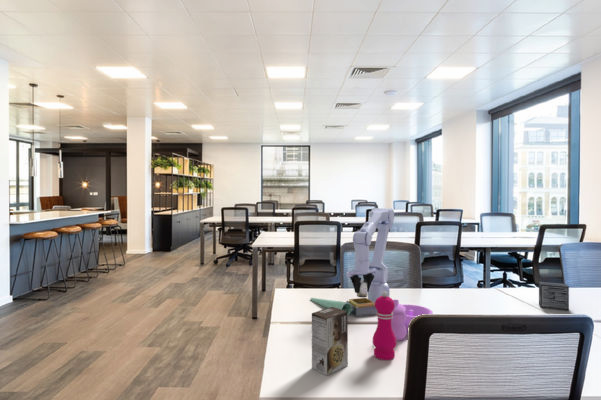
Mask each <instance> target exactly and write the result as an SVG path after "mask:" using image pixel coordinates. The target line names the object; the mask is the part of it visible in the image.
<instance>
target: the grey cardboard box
mask: <svg viewBox="0 0 601 400" xmlns="http://www.w3.org/2000/svg"><path fill="white" fill-rule="evenodd" d="M348 328H349V327H348V315H347V311H344V310H341V309H339V308H335V307H329V308H323V309H321V310H318V311H315V312H312V313H311V369H312V370H315V371H316V372H319V373H321V374H323V375H325V376H329V375H331V374H333V373H335V372H337V371H339V370H341V369H344V368H345V367H347V366H348V365H349V361H348V359H349V358H348V354H349V353H348V352H349V351H348V349H349V348H348V345H349V344H348V342H349V341H348V340H349V339H348V335H349V333H348Z"/></svg>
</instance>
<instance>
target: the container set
mask: <svg viewBox="0 0 601 400" xmlns="http://www.w3.org/2000/svg"><path fill="white" fill-rule="evenodd" d="M392 300H393V301H394V304H395V308H394V310H393V311H392V313H393V318H392V319H391V326H392V330H393V333H394V335H395V338H396V342H397V341H402V340H403V339H404V338H405V337H406V335H407V334H406V333H408V326H409V323H410V321H411V320H412V319H413V318H415V317H416V316H418V315H422V314H433V315H434V313H433V310H431V309H430V308H428V307H425V306H421V305H418V304H417V305H416V304H401V303H400V300H399V299H392Z"/></svg>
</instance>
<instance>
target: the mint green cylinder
mask: <svg viewBox="0 0 601 400" xmlns="http://www.w3.org/2000/svg"><path fill="white" fill-rule="evenodd" d="M310 301H312V303H313V302H314V303H315V304H317V305H320V306H321V307H324V309H326V308H329V307H335V308H339V309H341V310H344V311H347V316H350V314H351V313H350V312H351V309H352V307H351V305H350V304H349V303H346V302H347V301H341V300H332V299H324V298H317V297H311V298H310Z"/></svg>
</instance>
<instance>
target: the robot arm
mask: <svg viewBox="0 0 601 400" xmlns="http://www.w3.org/2000/svg"><path fill="white" fill-rule="evenodd" d="M394 220H395V212H394V209H393V208H376V207H372V209H371V210H370V219H369V221H366V222H364V223H363V225H362V227H360V229H359V231H358V230H356V231H355V232H354V233H353V236H352V243H353V249H354V250H355V251H354V254H355V255H354V259H355V260H354V267H355V268H354V269H352V270H349V271H346V274H345V275H346V277H347V278H349V279H350V281H351V283H352V286H353V289H354V293H356V294H357V293H359V290H360V281H362V278H361V277H360V276H362V277H363V281H367V299H369V300H371V301H373V302H374V303H375V301H376V299H377V298H378V297H380V296H382V292H384V291H385V292H387V294H388V297H390V286H389V284H388V283H387V282H388V279H389V274H388V273H389V269H388V267H387V265H385V264H384V260H385V254H386V249H387V248H386V247H387V242H388V236H389V231H390V229H392V228H393V225H394V222H395V221H394ZM376 231H377V233H376V234H377V235H376V240H375V244H374V245H375V246H374V251H373V256H372V260H371V261H370V245H371V244H372V240H373V236H374V235H375V232H376Z"/></svg>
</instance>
